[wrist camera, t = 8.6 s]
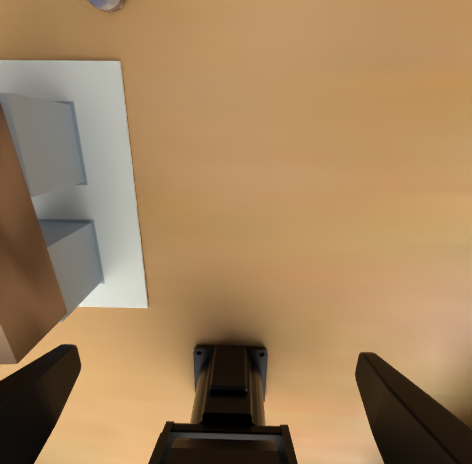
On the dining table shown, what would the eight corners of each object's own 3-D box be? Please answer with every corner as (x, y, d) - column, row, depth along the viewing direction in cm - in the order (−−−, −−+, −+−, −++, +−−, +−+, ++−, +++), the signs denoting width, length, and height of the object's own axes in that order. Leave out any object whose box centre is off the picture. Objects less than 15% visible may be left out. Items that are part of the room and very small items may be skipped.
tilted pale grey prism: (84, 182, 19) (32, 197, 14) (14, 181, 19) (-60, 195, 14) (70, 104, 17) (6, 92, 13) (-6, 103, 17) (-98, 91, 13)
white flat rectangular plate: (148, 306, 23) (147, 308, 23) (8, 303, 23) (6, 305, 23) (120, 61, 17) (119, 60, 16) (-69, 60, 17) (-73, 58, 17)
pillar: (101, 281, 22) (62, 321, 17) (40, 280, 22) (-15, 319, 17) (91, 222, 20) (44, 248, 15) (25, 221, 20) (-42, 247, 15)
